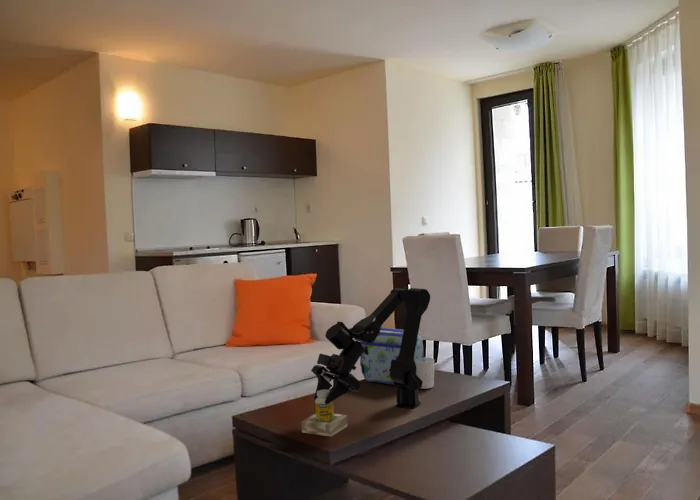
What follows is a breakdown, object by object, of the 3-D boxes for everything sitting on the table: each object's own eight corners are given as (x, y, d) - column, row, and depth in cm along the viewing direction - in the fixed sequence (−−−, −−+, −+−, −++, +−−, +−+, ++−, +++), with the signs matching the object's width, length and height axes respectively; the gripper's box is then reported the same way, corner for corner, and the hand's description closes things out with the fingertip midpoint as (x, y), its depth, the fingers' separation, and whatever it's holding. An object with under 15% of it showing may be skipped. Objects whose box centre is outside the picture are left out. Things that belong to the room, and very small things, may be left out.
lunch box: (357, 380, 238) (354, 327, 237) (374, 375, 246) (372, 323, 245) (410, 390, 220) (408, 333, 219) (427, 384, 228) (425, 328, 227)
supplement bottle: (332, 418, 185) (330, 387, 185) (335, 424, 180) (334, 392, 180) (314, 421, 184) (313, 389, 184) (318, 426, 179) (316, 394, 178)
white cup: (438, 384, 226) (437, 358, 226) (430, 390, 219) (429, 362, 219) (418, 383, 230) (417, 356, 229) (410, 388, 223) (409, 361, 223)
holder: (347, 426, 184) (347, 415, 184) (330, 436, 175) (330, 425, 175) (319, 422, 189) (318, 411, 189) (301, 432, 180) (301, 421, 180)
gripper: (314, 339, 191) (286, 381, 185) (350, 347, 176) (321, 392, 170) (336, 359, 196) (309, 400, 190) (373, 368, 181) (345, 413, 175)
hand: (320, 401), depth 181 cm, fingers closed on supplement bottle, 5 cm apart
